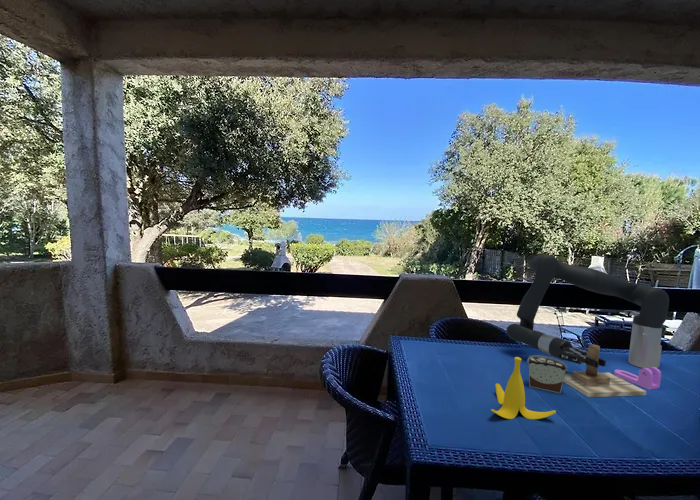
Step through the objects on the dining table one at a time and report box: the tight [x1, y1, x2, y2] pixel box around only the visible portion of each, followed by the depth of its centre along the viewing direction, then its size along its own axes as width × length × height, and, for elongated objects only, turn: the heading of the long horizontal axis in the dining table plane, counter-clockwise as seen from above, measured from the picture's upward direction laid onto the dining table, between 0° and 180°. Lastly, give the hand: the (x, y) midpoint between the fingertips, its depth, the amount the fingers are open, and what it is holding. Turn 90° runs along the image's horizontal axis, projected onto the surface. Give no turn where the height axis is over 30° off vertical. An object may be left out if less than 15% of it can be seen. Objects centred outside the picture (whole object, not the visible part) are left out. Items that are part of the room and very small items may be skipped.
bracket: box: [613, 367, 662, 391], centre depth 125 cm, size 13×6×7 cm, turn 18°
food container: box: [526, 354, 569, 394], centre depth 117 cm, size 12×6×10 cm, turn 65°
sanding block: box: [572, 343, 610, 387], centre depth 118 cm, size 9×6×13 cm, turn 98°
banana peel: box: [490, 356, 557, 420], centre depth 99 cm, size 17×19×17 cm
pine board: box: [563, 372, 647, 398], centre depth 119 cm, size 22×14×2 cm, turn 98°
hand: (601, 364), depth 115 cm, fingers closed on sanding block, 3 cm apart
